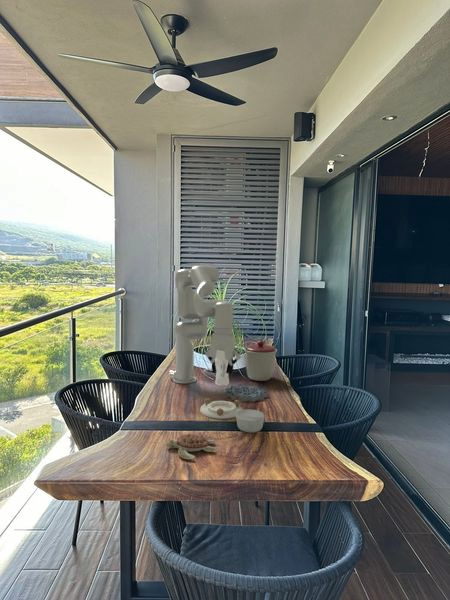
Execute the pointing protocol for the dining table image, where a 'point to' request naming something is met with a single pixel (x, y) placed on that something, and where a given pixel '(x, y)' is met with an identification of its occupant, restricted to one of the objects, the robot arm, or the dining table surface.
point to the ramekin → (250, 420)
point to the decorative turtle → (190, 445)
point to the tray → (222, 405)
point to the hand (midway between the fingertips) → (222, 372)
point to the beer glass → (221, 368)
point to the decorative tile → (246, 393)
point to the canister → (260, 361)
